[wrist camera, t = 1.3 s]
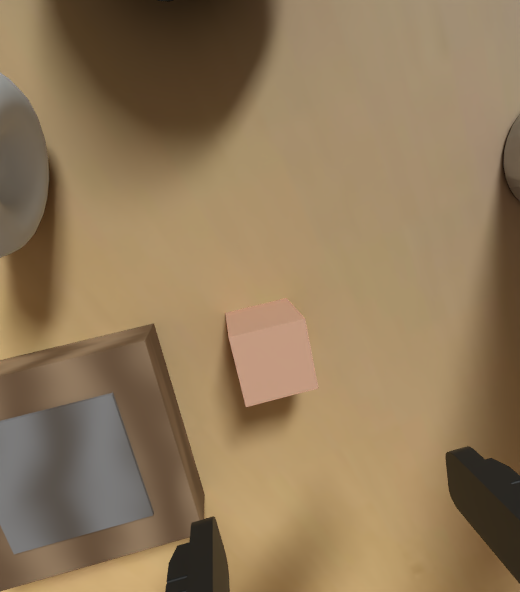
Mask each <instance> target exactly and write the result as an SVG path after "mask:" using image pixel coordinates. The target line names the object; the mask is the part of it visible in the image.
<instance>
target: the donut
mask: <svg viewBox="0 0 520 592" xmlns="http://www.w3.org/2000/svg"><path fill="white" fill-rule="evenodd" d="M48 186H49V162H48V154H47V148H46V142H45V138H44V135H43V132H42V129H41V125H40V122H39V119H38V117H37V115H36V113H35V111H34V109H33V107H32V105H31V103H30V102H29V100H28V99H27V97H26V96H25V95H24V94H23V92H22V91H21V90H20V89H19V88H18V87H17V86H16V85H15V84H14V83H13V82H12V81H11V80H10V79H9V78H7V77H6V76H4V75H3V74H1V73H0V258H1V257H3V256H6V255H9V254H11V253H13V252H15V251H17V250H19V249H21V248H22V247H23V246H24V245H25V244H27V242H28V241H29V240H30V239H31V237H32V236H33V235H34V234H35V232H36V230H37V228H38V225H39V223H40V221H41V219H42V216H43V214H44V210H45V206H46V201H47V197H48Z"/></svg>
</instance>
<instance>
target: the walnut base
mask: <svg viewBox="0 0 520 592" xmlns="http://www.w3.org/2000/svg"><path fill="white" fill-rule="evenodd" d="M204 496H205V495H204V491H203V488H202V484H201V481H200V478H199V474H198V471H197V468H196V464H195V461H194V457H193V454H192V451H191V447H190V444H189V441H188V437H187V434H186V431H185V427H184V424H183V420H182V417H181V414H180V410H179V407H178V404H177V400H176V397H175V393H174V390H173V387H172V383H171V380H170V377H169V373H168V370H167V367H166V363H165V360H164V356H163V353H162V350H161V346H160V343H159V340H158V336H157V333H156V329H155V326H154V324H150V325H146V326H142V327H138V328H134V329H129V330H125V331H121V332H117V333H113V334H109V335H104V336H100V337H96V338H92V339H88V340H83V341H79V342H75V343H71V344H67V345H63V346H58V347H54V348H50V349H46V350H42V351H38V352H33V353H29V354H25V355H21V356H17V357H12V358H8V359H4V360H0V591H3V590H7V589H10V588H14V587H17V586H21V585H24V584H28V583H31V582H35V581H38V580H42V579H45V578H49V577H52V576H56V575H59V574H63V573H66V572H70V571H73V570H77V569H80V568H83V567H87V566H90V565H94V564H97V563H101V562H104V561H108V560H111V559H115V558H118V557H122V556H125V555H129V554H132V553H136V552H139V551H143V550H146V549H150V548H153V547H157V546H160V545H164V544H167V543H171V542H174V541H178V540H181V539H185V538H188V537H190V530H191V523H192V522H195V521H199V520H203V519H204Z"/></svg>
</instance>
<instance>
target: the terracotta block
mask: <svg viewBox="0 0 520 592" xmlns="http://www.w3.org/2000/svg"><path fill="white" fill-rule="evenodd" d="M225 315H226V322H227V329H228V337H229V341H230V345H231V349H232V353H233V357H234V361H235V365H236V369H237V373H238V377H239V381H240V385H241V389H242V393H243V398H244V402H245V406H246V407H249V406H253V405H257V404H260V403H264V402H268V401H272V400H276V399H279V398H283V397H287V396H291V395H295V394H299V393H302V392H306V391H310V390H314V389H318V383H317V378H316V373H315V367H314V362H313V357H312V352H311V347H310V341H309V336H308V331H307V326H306V320H305V318H304V317H303V316H302V315H301V313H300V312H299V311H298V310H297V309H296V308H295V307H294V306H293V304H292V303H291V302H290V301H289V300H288V299H287V298H285V299H280V300H276V301H272V302H268V303H264V304H260V305H255V306H251V307H247V308H243V309H239V310H235V311H231V312H226V313H225Z"/></svg>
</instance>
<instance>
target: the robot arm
mask: <svg viewBox="0 0 520 592" xmlns="http://www.w3.org/2000/svg"><path fill="white" fill-rule="evenodd" d="M504 170H505V177H506V180H507V182H508V185H509V188H510V189H511V191H512V192H513V194H514V196H515V197H516V198H517V199H518V200H519V201H520V115H519V116H518V118H517V119H516V121H515V122H514V124H513V125H512V128H511V130H510V133H509V135H508V137H507V141H506V146H505V150H504ZM446 466H447V476H448V486H449V492H450V495H451V498H452V500H453V502H454V504H455V506H456V507H457V509H458V510H459V511H460V512H461V514H462V515H463V516H464V517H465V518H466V520H467V521H468V522H469V523H470V524H471V526H472V527H473V528H474V529H475V530H476V532H477V533H478V534H479V535H480V536H481V538H482V539H483V540H484V541H485V542H486V544H487V545H488V546H489V547H490V548H491V550H492V551H493V552H494V553H495V554H496V556H497V557H498V558H499V559H500V560H501V562H502V563H503V564H504V565H505V566H506V568H507V569H508V570H509V571H510V572H511V574H512V575H513V576H514V577H515V578H516V580H517V581H518V582H519V583H520V476H519V475H518V474H517V473H516V472H515V471H514V470H512V469H511V468H510V467H509V466H507V465H505V464H503V463H500V462H498V461H496V460H494V459H492V458H489V459H486V460H485V459H484V458H483V457H482V456H480V455H479V454H478V453H477V452H476V451H475V450H474V449H473V448H471V447H464V448H460V449H457V450H453V451H449V452H447V453H446ZM165 592H230V589H229V571H228V564H227V558H226V553H225V550H224V546H223V543H222V539H221V536H220V533H219V529H218V526H217V522H216V519H215V517H214V516H213V517H210V518H206V519H203V520H199V521H195V522H192V523H191V530H190V542H189V543H186V544H182V545H179V546H177V548H176V550H175V552H174V554H173V556H172V558H171V560H170V562H169V567H168V575H167V584H166V591H165Z"/></svg>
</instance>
